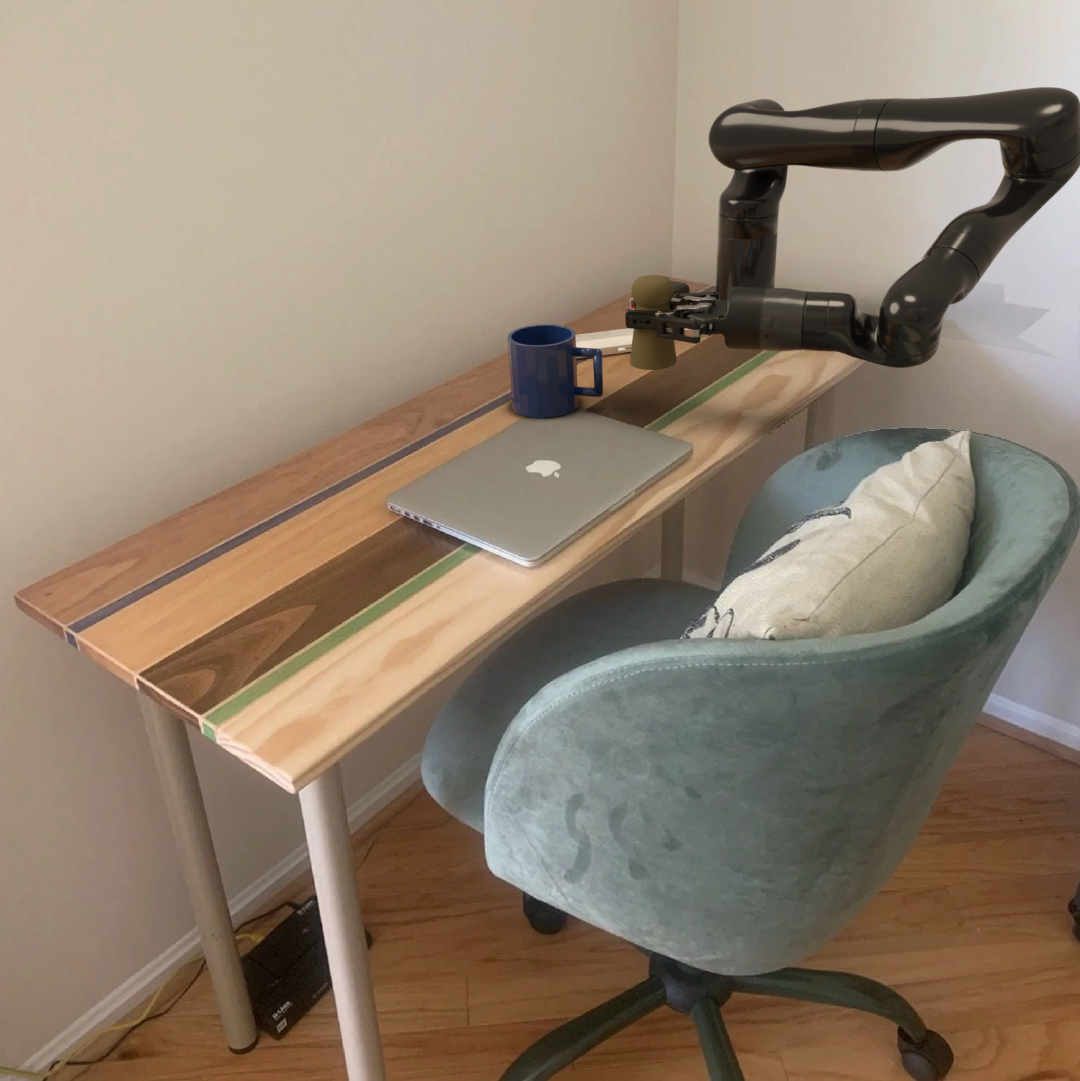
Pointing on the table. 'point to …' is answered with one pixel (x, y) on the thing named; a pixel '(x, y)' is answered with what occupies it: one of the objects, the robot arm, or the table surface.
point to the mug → (548, 370)
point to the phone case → (607, 341)
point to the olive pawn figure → (645, 343)
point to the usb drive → (678, 288)
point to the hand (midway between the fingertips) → (631, 313)
